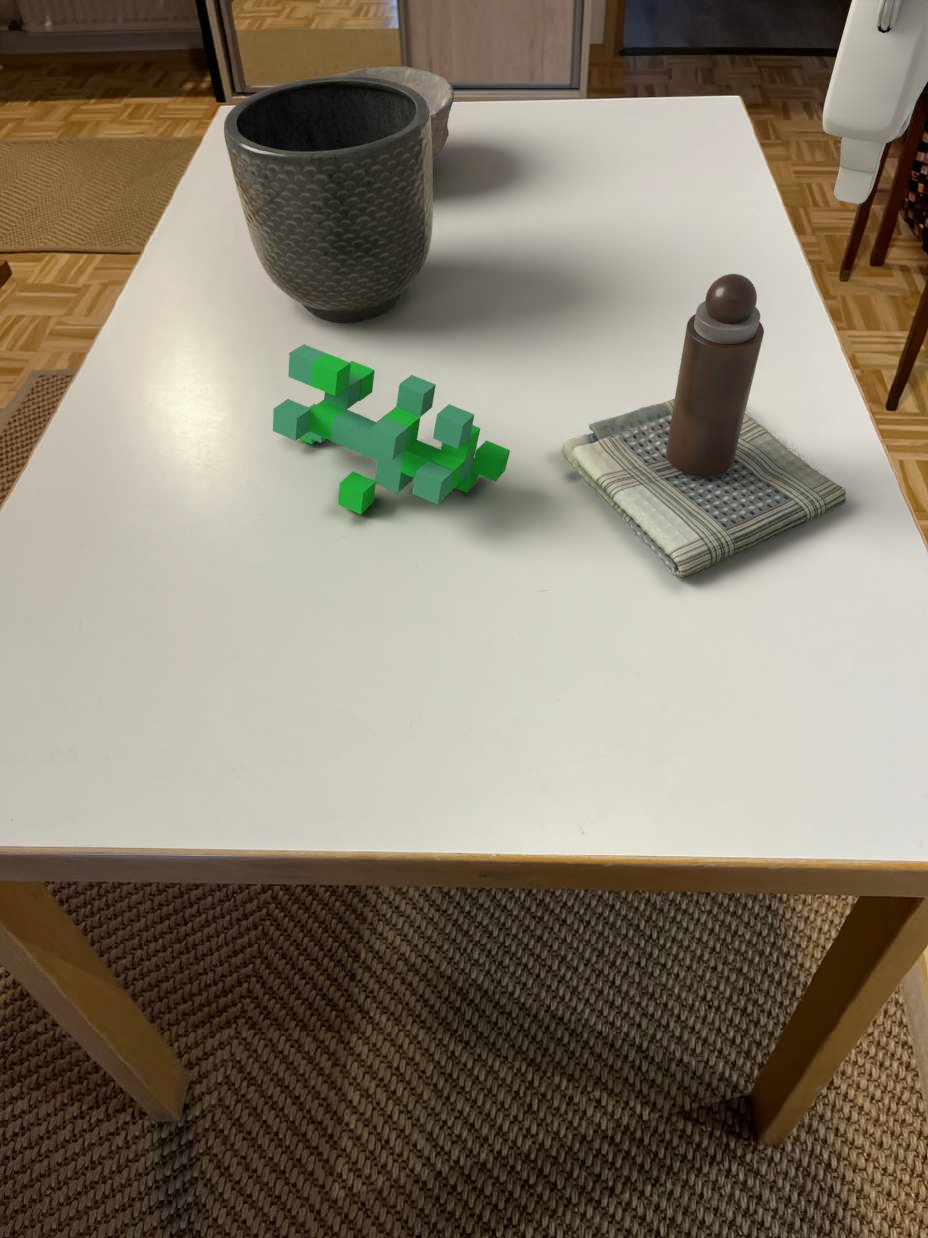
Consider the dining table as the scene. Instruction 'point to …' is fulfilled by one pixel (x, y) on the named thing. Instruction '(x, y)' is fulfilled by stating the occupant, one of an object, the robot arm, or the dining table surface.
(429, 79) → the bowl
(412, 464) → the building blocks
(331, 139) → the planter
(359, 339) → the dining table surface
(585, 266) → the dining table surface
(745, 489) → the dish towel
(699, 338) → the pepper mill
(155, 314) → the dining table surface
